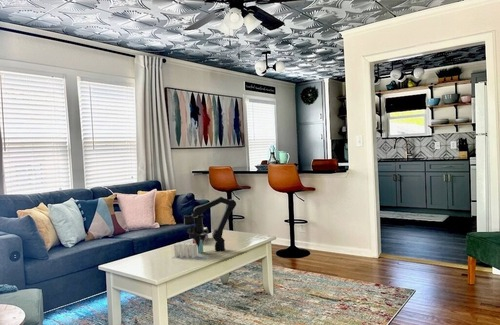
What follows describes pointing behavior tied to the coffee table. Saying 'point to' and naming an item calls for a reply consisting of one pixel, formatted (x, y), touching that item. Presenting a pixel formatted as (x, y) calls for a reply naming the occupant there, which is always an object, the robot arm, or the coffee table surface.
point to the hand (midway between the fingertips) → (200, 245)
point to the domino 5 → (200, 247)
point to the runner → (200, 257)
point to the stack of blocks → (205, 237)
